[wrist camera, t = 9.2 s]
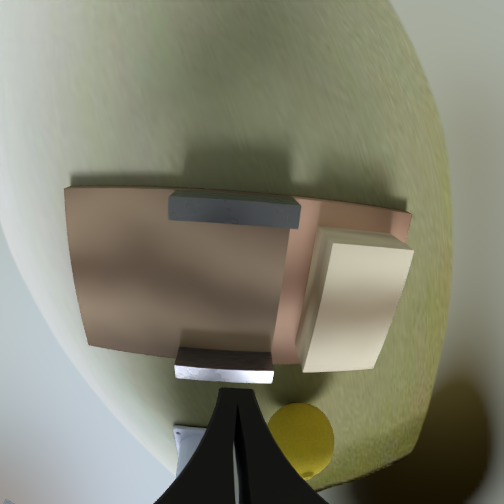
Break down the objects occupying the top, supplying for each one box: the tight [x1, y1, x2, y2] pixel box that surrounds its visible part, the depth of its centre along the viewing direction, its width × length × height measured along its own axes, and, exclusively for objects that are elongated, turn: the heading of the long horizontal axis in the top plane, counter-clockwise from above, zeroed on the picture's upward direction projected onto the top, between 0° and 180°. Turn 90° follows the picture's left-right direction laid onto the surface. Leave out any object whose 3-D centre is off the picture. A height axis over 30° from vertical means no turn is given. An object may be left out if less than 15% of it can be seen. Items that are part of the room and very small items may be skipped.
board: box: [64, 186, 412, 364], centre depth 18 cm, size 12×22×1 cm, turn 85°
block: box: [295, 226, 414, 373], centre depth 17 cm, size 8×5×3 cm, turn 175°
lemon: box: [267, 403, 334, 480], centre depth 20 cm, size 6×6×8 cm
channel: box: [168, 190, 301, 383], centre depth 17 cm, size 12×6×2 cm, turn 175°
